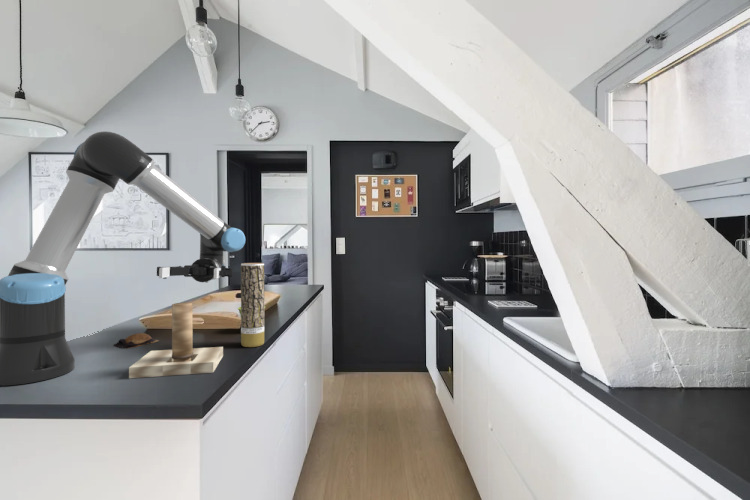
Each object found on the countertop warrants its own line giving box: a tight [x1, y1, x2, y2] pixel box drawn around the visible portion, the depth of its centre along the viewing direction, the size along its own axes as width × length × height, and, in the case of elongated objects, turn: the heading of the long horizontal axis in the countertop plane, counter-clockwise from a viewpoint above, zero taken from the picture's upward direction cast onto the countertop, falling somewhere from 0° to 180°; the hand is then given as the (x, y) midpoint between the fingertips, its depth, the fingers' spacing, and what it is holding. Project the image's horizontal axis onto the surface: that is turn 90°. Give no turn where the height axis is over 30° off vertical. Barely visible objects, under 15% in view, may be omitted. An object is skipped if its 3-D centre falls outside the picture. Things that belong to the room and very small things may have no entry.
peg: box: [171, 302, 194, 362], centre depth 93 cm, size 5×5×16 cm
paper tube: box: [240, 262, 265, 348], centre depth 115 cm, size 7×7×25 cm
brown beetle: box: [113, 332, 160, 350], centre depth 117 cm, size 11×8×4 cm
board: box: [128, 346, 224, 379], centre depth 95 cm, size 18×14×2 cm
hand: (188, 273), depth 101 cm, fingers open, 13 cm apart
